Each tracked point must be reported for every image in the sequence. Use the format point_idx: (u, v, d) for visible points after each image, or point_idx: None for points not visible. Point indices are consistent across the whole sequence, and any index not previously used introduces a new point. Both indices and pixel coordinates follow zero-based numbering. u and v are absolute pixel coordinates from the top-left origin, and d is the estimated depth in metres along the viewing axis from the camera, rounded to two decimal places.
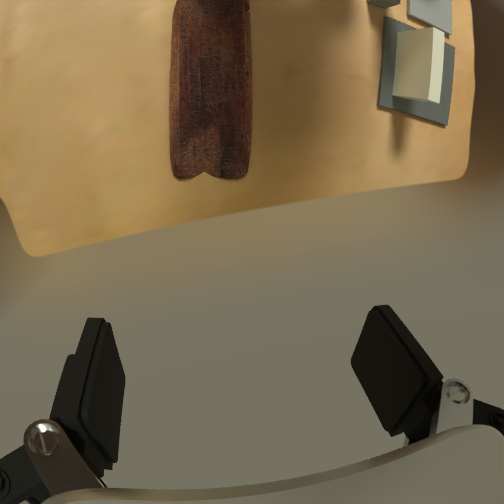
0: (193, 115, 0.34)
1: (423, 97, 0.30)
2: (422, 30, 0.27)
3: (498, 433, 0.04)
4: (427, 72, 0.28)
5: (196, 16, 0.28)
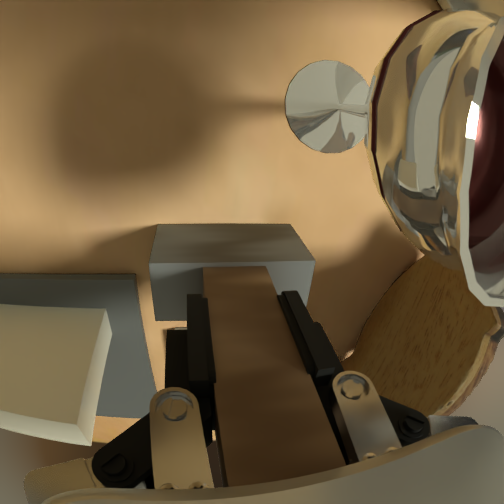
0: None
1: None
2: (78, 385, 0.12)
3: (498, 433, 0.04)
4: None
5: None
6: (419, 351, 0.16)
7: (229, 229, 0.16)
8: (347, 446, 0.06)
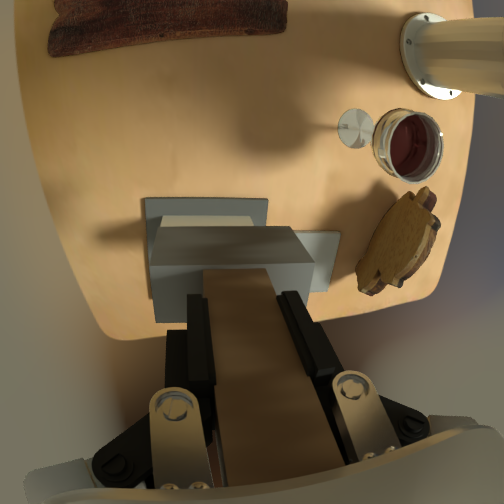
0: None
1: None
2: None
3: (498, 433, 0.04)
4: None
5: None
6: (399, 239, 0.35)
7: (229, 231, 0.16)
8: (347, 446, 0.06)
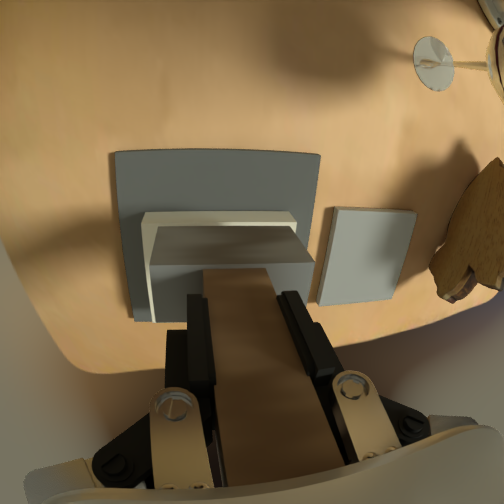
0: None
1: (153, 312, 0.22)
2: None
3: (498, 433, 0.04)
4: None
5: None
6: (497, 222, 0.20)
7: (229, 231, 0.16)
8: (347, 446, 0.06)
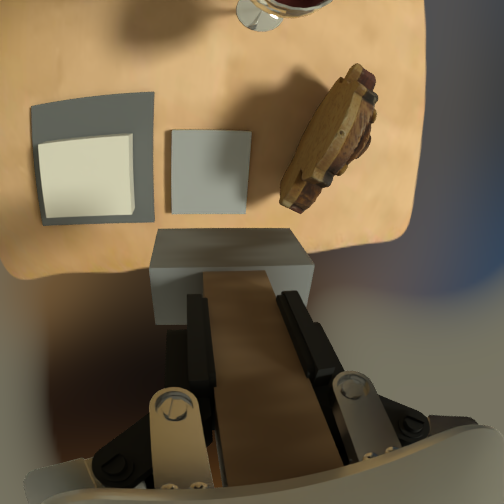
0: None
1: (46, 209, 0.27)
2: (127, 194, 0.29)
3: (498, 433, 0.04)
4: (74, 210, 0.28)
5: None
6: (324, 125, 0.26)
7: (229, 233, 0.16)
8: (347, 446, 0.06)
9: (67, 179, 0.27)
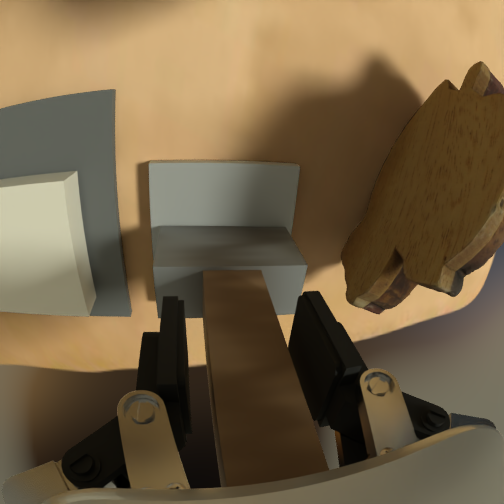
0: None
1: None
2: (75, 285, 0.15)
3: (498, 433, 0.04)
4: (2, 302, 0.15)
5: None
6: (445, 170, 0.12)
7: (227, 232, 0.17)
8: None
9: None
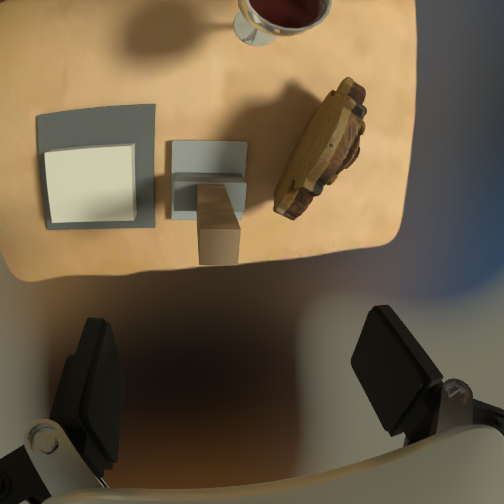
0: None
1: (52, 214, 0.29)
2: (129, 201, 0.31)
3: (498, 433, 0.04)
4: (78, 215, 0.30)
5: None
6: (316, 137, 0.28)
7: (210, 174, 0.32)
8: None
9: (72, 186, 0.28)
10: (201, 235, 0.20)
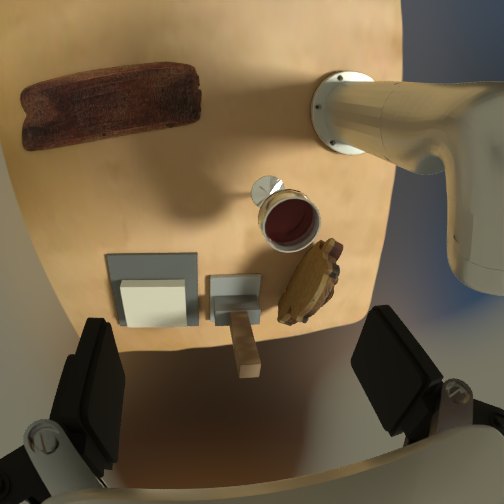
0: (65, 95, 0.31)
1: (127, 322, 0.47)
2: (184, 316, 0.48)
3: (498, 433, 0.04)
4: (148, 324, 0.48)
5: (158, 82, 0.34)
6: (306, 283, 0.46)
7: (236, 297, 0.50)
8: None
9: (143, 308, 0.46)
10: (241, 367, 0.38)
